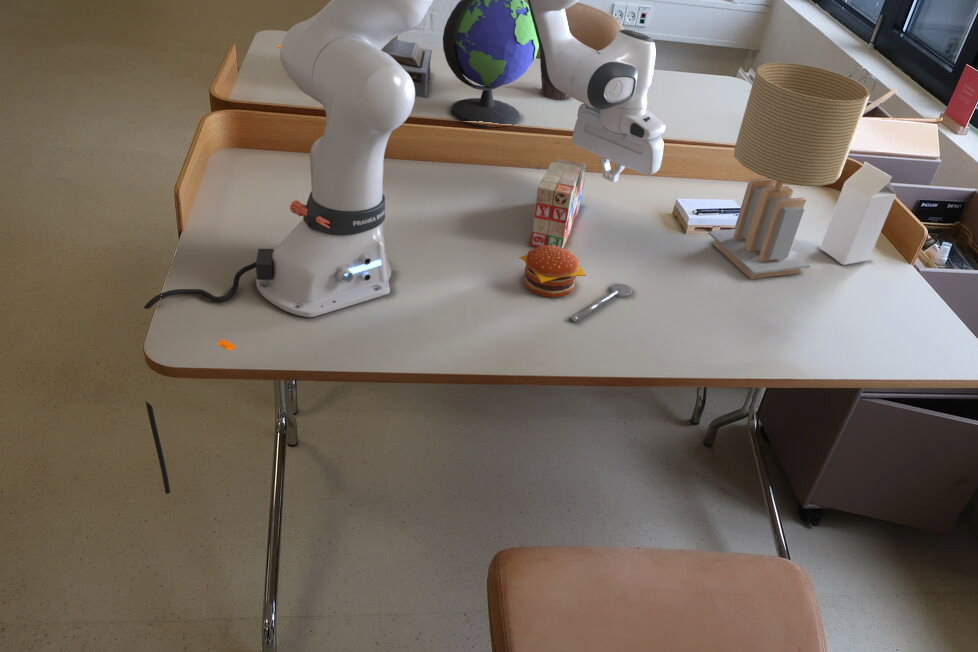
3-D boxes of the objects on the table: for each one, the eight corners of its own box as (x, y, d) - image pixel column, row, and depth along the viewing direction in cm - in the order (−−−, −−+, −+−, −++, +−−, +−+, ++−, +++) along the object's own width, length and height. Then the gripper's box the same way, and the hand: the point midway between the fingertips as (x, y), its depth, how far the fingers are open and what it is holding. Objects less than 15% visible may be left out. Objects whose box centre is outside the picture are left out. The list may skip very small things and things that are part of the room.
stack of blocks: (551, 199, 173) (559, 143, 165) (580, 205, 172) (590, 150, 165) (529, 245, 156) (537, 185, 148) (561, 252, 155) (571, 192, 148)
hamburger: (557, 266, 151) (563, 234, 147) (584, 294, 144) (590, 261, 140) (512, 274, 146) (516, 241, 142) (537, 303, 140) (543, 269, 136)
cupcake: (579, 96, 228) (585, 59, 222) (561, 104, 221) (567, 66, 215) (550, 86, 231) (555, 49, 225) (532, 93, 224) (536, 56, 218)
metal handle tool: (581, 327, 136) (582, 322, 135) (563, 317, 137) (564, 312, 137) (634, 292, 147) (635, 287, 146) (618, 284, 148) (619, 279, 148)
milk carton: (843, 266, 165) (878, 178, 154) (819, 248, 170) (851, 162, 159) (868, 261, 168) (904, 175, 157) (844, 244, 173) (877, 159, 162)
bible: (348, 58, 228) (347, 21, 222) (443, 75, 227) (445, 38, 221) (317, 84, 209) (316, 44, 203) (421, 102, 208) (422, 63, 202)
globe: (511, 139, 197) (526, 7, 179) (426, 117, 201) (432, -14, 183) (541, 111, 214) (557, -12, 196) (462, 92, 218) (471, -30, 200)
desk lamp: (688, 238, 166) (734, 62, 145) (766, 231, 174) (821, 62, 153) (742, 289, 152) (802, 103, 132) (825, 279, 160) (894, 100, 139)
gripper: (571, 102, 167) (561, 166, 175) (655, 135, 158) (641, 201, 166) (589, 96, 171) (579, 159, 180) (672, 128, 162) (658, 192, 170)
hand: (609, 179), depth 173 cm, fingers closed
